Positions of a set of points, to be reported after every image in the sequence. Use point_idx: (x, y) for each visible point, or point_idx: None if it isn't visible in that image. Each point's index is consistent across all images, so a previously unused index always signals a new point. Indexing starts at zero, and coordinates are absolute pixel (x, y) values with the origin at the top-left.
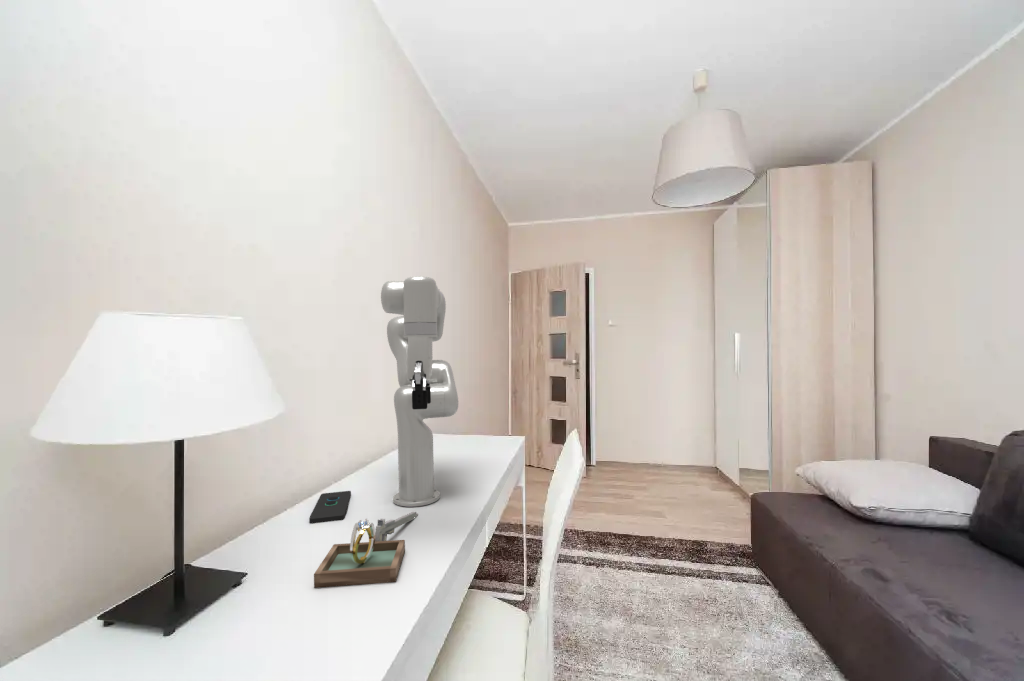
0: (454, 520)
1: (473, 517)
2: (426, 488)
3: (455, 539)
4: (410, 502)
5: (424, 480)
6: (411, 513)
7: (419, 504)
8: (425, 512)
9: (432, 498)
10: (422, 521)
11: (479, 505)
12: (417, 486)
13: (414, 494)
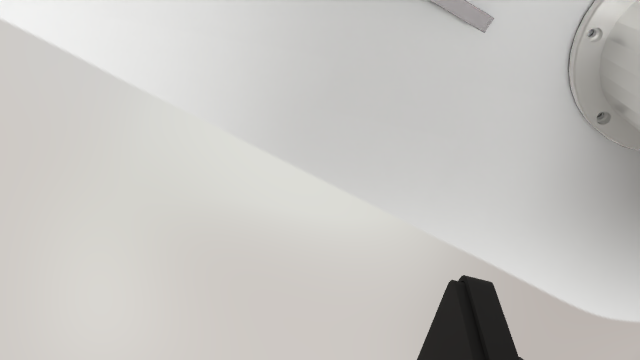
0: (368, 141)
1: (366, 201)
2: (620, 102)
3: (216, 109)
4: (596, 17)
5: (635, 104)
6: (446, 2)
7: (573, 52)
8: (495, 62)
9: (591, 112)
10: (408, 36)
11: (464, 247)
12: (627, 64)
13: (617, 42)
